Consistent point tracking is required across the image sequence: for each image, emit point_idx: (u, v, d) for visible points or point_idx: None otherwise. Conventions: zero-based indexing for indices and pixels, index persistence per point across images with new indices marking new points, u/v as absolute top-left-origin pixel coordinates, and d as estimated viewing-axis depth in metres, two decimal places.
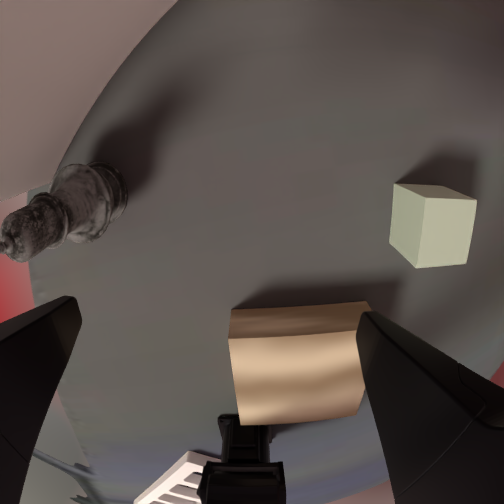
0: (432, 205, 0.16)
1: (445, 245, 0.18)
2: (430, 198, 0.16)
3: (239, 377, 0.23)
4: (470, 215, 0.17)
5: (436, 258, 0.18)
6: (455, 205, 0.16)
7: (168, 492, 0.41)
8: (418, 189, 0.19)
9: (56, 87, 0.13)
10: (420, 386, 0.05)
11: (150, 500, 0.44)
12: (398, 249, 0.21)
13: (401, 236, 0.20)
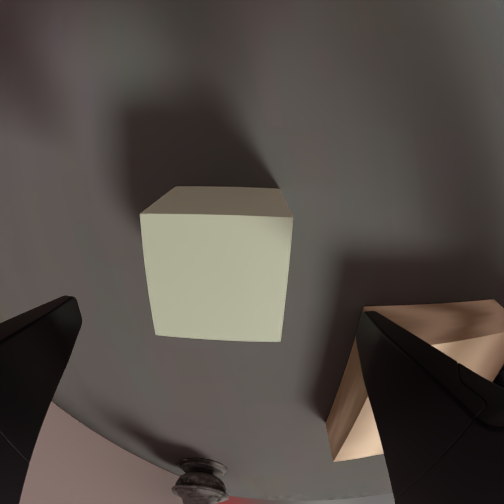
0: (165, 323, 0.11)
1: (240, 288, 0.10)
2: (155, 326, 0.11)
3: None
4: (172, 227, 0.09)
5: (266, 305, 0.11)
6: (157, 274, 0.10)
7: None
8: None
9: (117, 495, 0.19)
10: (420, 386, 0.05)
11: None
12: None
13: None
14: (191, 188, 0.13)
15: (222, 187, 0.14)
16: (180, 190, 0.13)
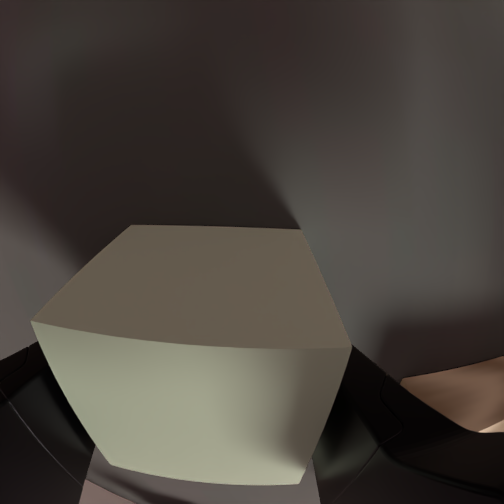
0: (120, 459, 0.05)
1: (233, 443, 0.05)
2: (106, 457, 0.05)
3: None
4: (89, 354, 0.04)
5: (281, 458, 0.05)
6: (89, 411, 0.05)
7: None
8: None
9: None
10: None
11: None
12: None
13: None
14: (151, 232, 0.08)
15: (204, 229, 0.08)
16: (132, 238, 0.07)
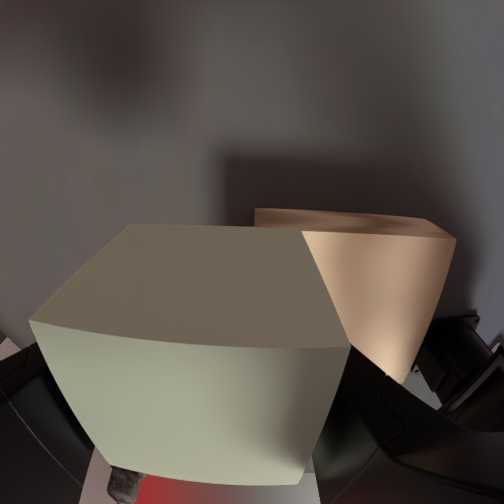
0: (118, 458, 0.05)
1: (232, 444, 0.05)
2: (105, 457, 0.05)
3: None
4: (87, 353, 0.04)
5: (280, 458, 0.05)
6: (87, 410, 0.05)
7: None
8: None
9: None
10: (335, 397, 0.05)
11: None
12: None
13: None
14: (150, 232, 0.08)
15: (203, 228, 0.08)
16: (130, 237, 0.07)
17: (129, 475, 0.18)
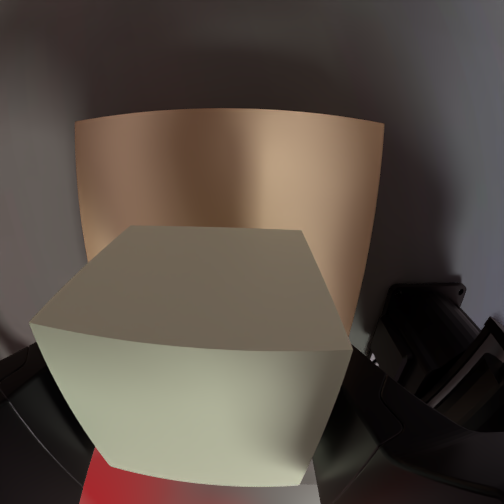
0: (119, 461, 0.05)
1: (233, 446, 0.05)
2: (106, 459, 0.05)
3: None
4: (88, 356, 0.04)
5: (281, 460, 0.05)
6: (88, 413, 0.04)
7: None
8: None
9: None
10: None
11: None
12: None
13: None
14: (151, 233, 0.08)
15: (204, 230, 0.08)
16: (131, 239, 0.07)
17: None
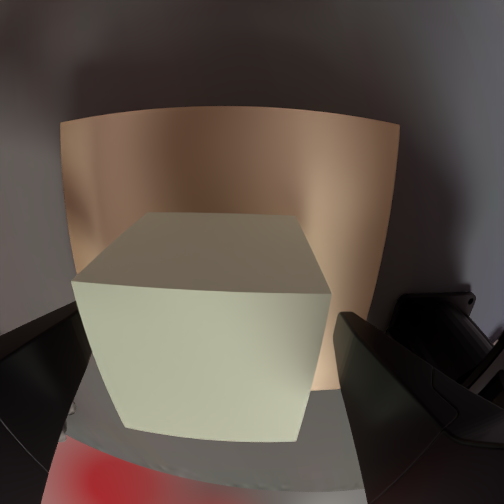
0: (134, 418, 0.07)
1: (238, 390, 0.06)
2: (122, 418, 0.07)
3: None
4: (122, 306, 0.05)
5: (279, 408, 0.06)
6: (112, 366, 0.06)
7: None
8: None
9: None
10: (390, 391, 0.05)
11: None
12: None
13: None
14: (167, 217, 0.09)
15: (212, 215, 0.09)
16: (150, 222, 0.09)
17: None
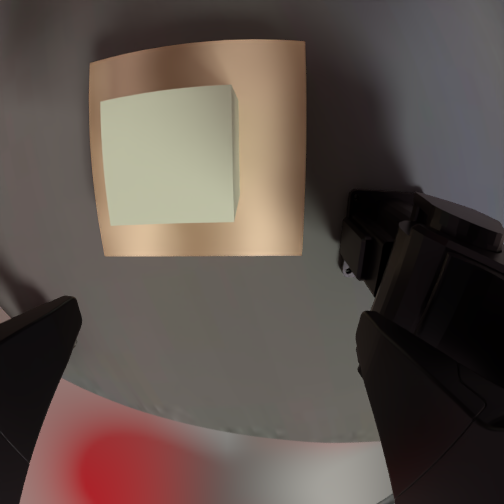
0: (119, 210, 0.11)
1: (186, 158, 0.10)
2: (110, 215, 0.11)
3: (169, 248, 0.17)
4: (126, 108, 0.09)
5: (214, 175, 0.10)
6: (112, 155, 0.10)
7: None
8: None
9: None
10: (420, 386, 0.05)
11: None
12: None
13: None
14: None
15: None
16: None
17: None
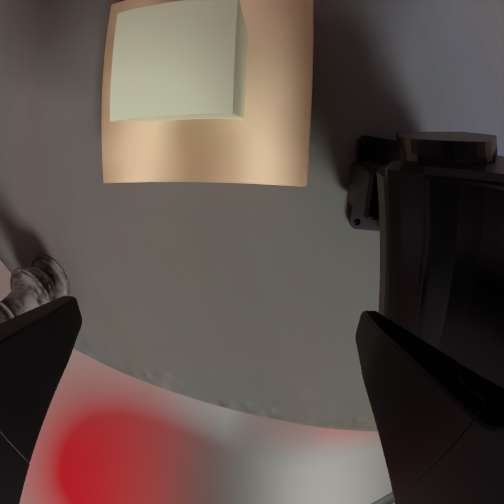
0: (120, 105, 0.10)
1: (191, 54, 0.09)
2: (110, 110, 0.10)
3: (169, 173, 0.16)
4: (140, 16, 0.08)
5: (216, 69, 0.09)
6: (122, 55, 0.09)
7: None
8: None
9: None
10: (420, 386, 0.05)
11: None
12: (237, 117, 0.13)
13: None
14: None
15: None
16: None
17: None
